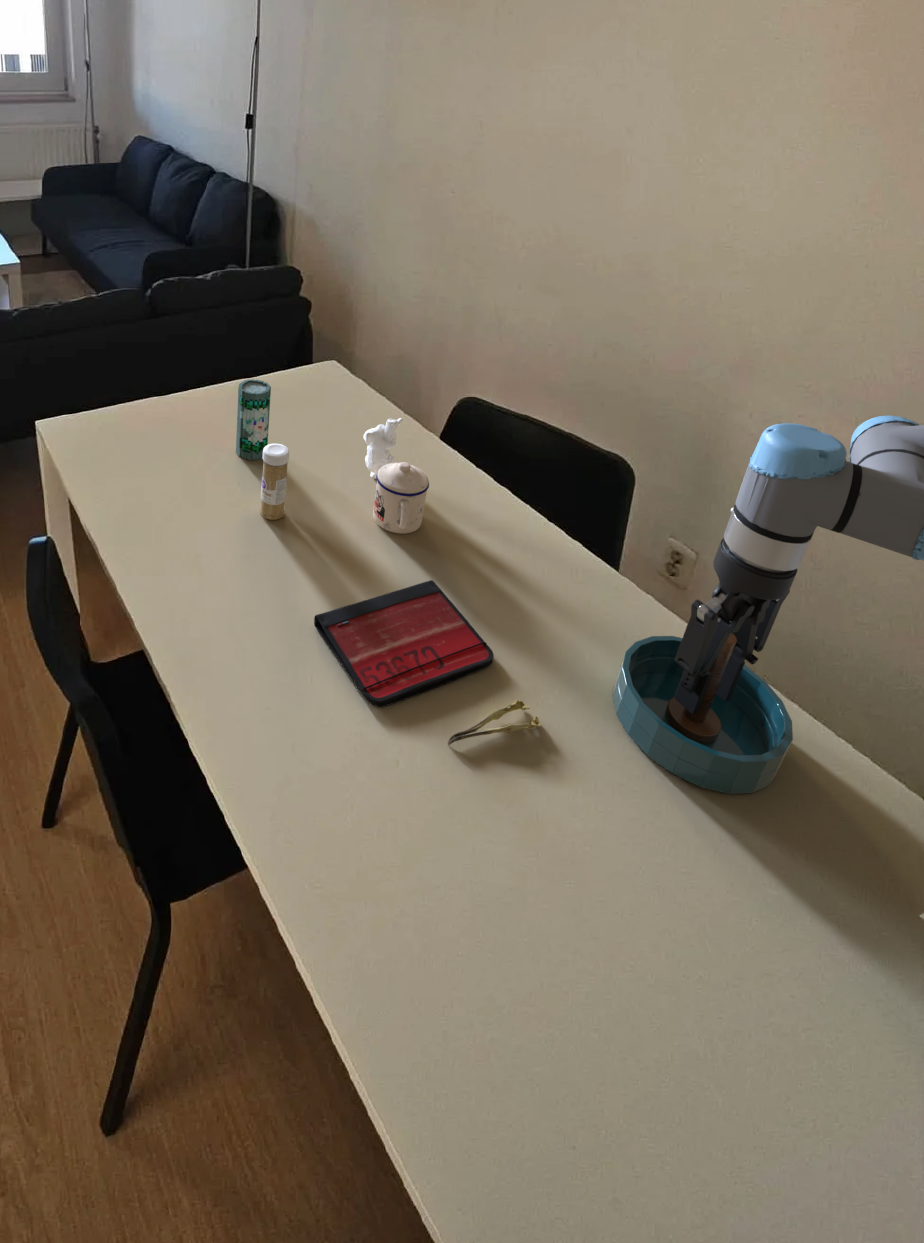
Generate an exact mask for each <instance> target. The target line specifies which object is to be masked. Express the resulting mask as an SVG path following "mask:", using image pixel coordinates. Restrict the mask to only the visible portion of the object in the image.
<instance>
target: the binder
mask: <svg viewBox="0 0 924 1243" xmlns="http://www.w3.org/2000/svg"><path fill="white" fill-rule="evenodd" d="M313 624H314V626H313V627H315V629H316V630H317V632H318V633H319V635H320V636H321V637H322V639H323V640H324V642H325V644H327V645H328V647H329V649H330V650H331V651H332V653H333V655H334V656H335V657H336V659H337V660H338V661H339V663H340V664H341V666H342V667H343V669H344V670H345V672H346V673H347V674H348V676H349V677H350V678H351V680H352V681H353V683H354V684H355V685H356V687H357V688H358V690H359V691H360V693H361V694H362V695H363V696H364V698H365V699H366V701H367V702H369V703H370V704H372V705H374V706H377V707H386V706H390V705H393V704H396V703H398V702H401V701H404V700H408V699H410V698H413V697H415V696H418V695H421V694H423V693H427V692H429V691H431V690H435V689H438V688H440V687H442V686H445V685H448V684H451V683H452V682H455V681H458V680H461V679H462V678H464V677H467V676H470V675H472V674H474V673H477V672H479V671H482V670H484V669H485V668H488V667H490V666H491V665H492V663H493V662H494V652H493V650H492V649H491V647H490V646H489V645H488V644H487V641H485V640H484V639H483V637H481V634H479V633H478V632H477V630H476V629H475V628H474V627H473V626H472V625H471V623H470V622H469V620H467V619H466V617H465V616H464V615H463V614H462V613H461V612H460V610H459V609H458V608H457V606H455V604H454V603H453V602H452V601H451V600H450V599H449V597H448V596H447V595H446V594H445V593H444V592H443V590H442V589H441V588H440V587H439V586H438V585H437V583H436V582H435V581H434V580H433V579H431V580H430V579H429V580H427V581H424V582H420V583H417V584H414V585H411V586H408V587H405V588H401V589H397V590H394V591H391V592H388V593H385V594H381V595H378V596H375V597H372V598H368V599H364V600H362V601H358V602H355V603H352V604H348V605H344V606H342V607H338V608H335V609H332V610H329V611H325V612H323V613H318V614H316V615H314V617H313Z"/></svg>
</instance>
